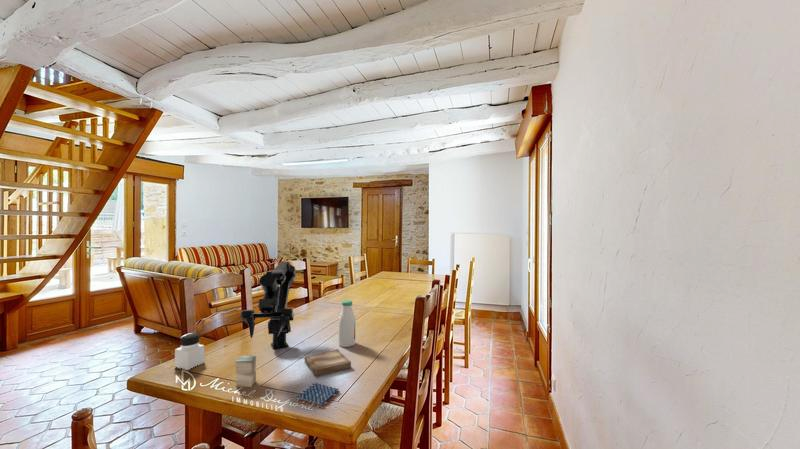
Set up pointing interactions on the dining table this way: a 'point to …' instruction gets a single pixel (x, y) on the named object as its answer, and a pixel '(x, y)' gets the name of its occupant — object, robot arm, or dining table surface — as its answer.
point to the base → (327, 363)
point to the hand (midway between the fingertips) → (264, 336)
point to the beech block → (245, 371)
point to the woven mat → (318, 395)
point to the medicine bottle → (189, 352)
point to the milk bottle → (346, 325)
